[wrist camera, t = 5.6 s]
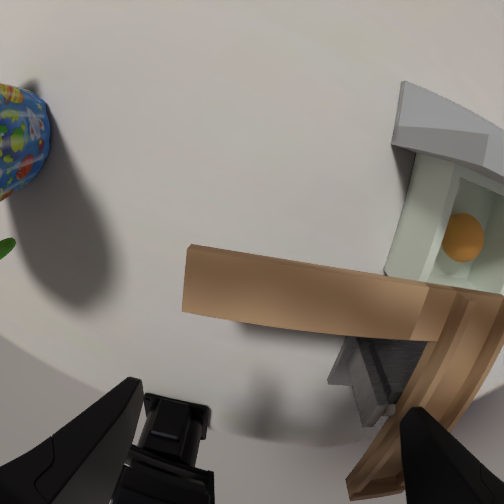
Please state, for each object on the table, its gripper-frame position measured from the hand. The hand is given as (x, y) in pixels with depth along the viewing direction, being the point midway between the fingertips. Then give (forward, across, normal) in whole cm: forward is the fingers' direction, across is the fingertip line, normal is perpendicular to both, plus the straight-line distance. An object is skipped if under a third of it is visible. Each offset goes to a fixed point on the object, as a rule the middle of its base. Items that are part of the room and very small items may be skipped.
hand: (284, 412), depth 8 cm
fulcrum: (+12, -12, +6) cm, 18 cm away
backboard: (+12, -11, -11) cm, 20 cm away
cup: (+12, -12, -4) cm, 17 cm away
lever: (+6, -5, +7) cm, 10 cm away
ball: (+10, -12, -4) cm, 16 cm away
